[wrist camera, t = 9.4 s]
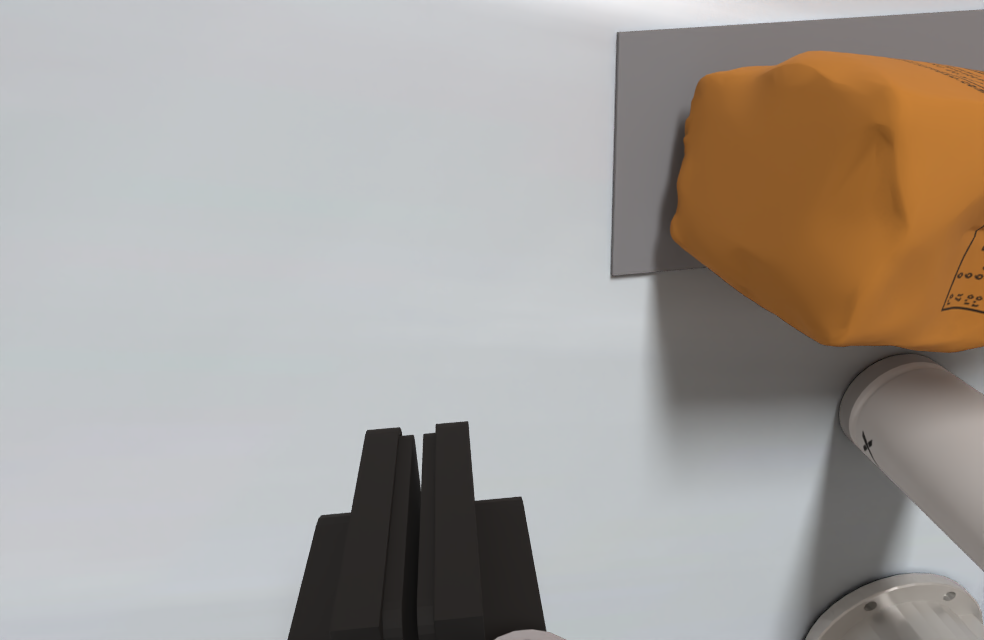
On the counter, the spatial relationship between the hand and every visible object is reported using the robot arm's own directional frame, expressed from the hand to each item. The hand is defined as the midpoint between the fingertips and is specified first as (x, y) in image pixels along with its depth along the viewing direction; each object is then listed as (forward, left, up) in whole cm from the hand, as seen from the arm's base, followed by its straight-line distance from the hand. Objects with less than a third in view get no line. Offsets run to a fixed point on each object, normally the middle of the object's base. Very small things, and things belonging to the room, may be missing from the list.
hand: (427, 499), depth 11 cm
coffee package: (-12, -1, -14) cm, 18 cm away
